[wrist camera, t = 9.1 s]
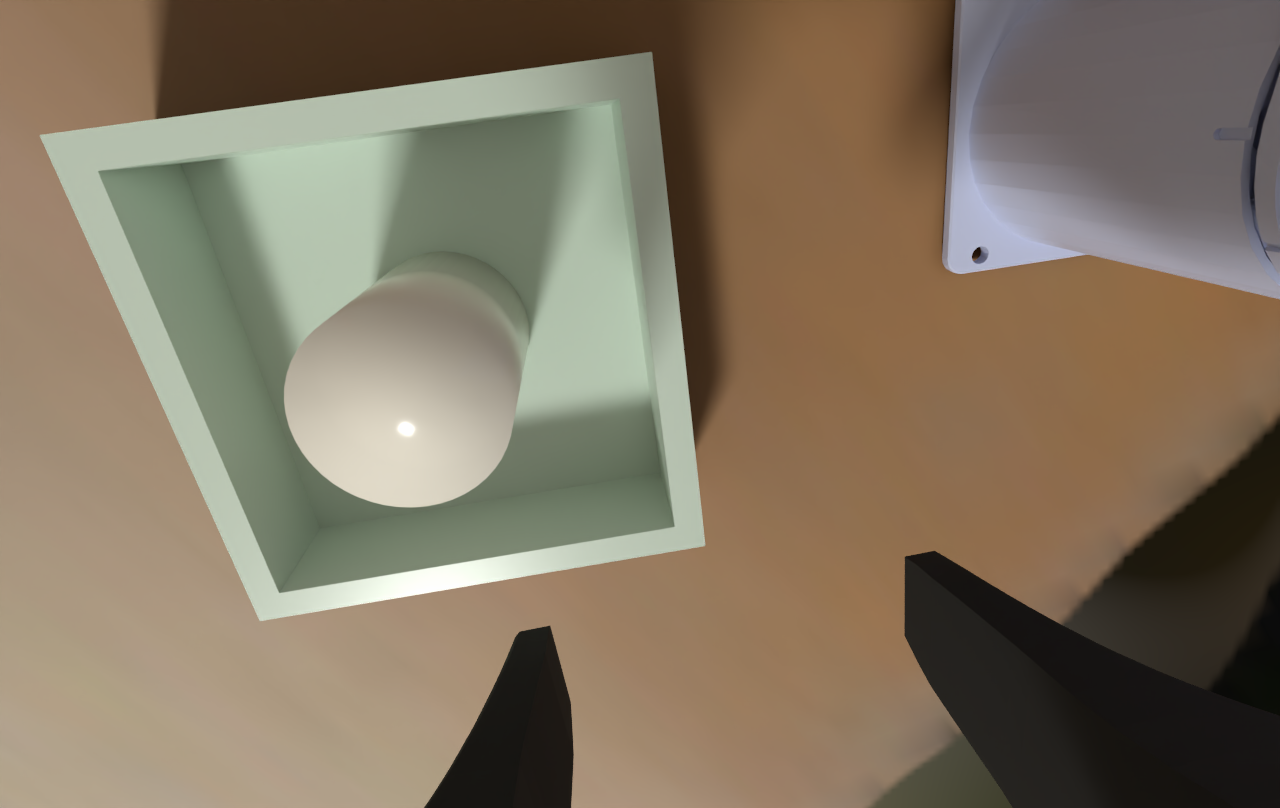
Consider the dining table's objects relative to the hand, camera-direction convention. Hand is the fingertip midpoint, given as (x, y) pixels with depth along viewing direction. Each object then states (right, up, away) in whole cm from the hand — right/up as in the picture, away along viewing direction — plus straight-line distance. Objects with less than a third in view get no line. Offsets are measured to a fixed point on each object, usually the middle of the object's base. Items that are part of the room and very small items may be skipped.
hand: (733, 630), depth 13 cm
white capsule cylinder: (-7, +7, +6) cm, 11 cm away
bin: (-7, +7, +7) cm, 12 cm away
